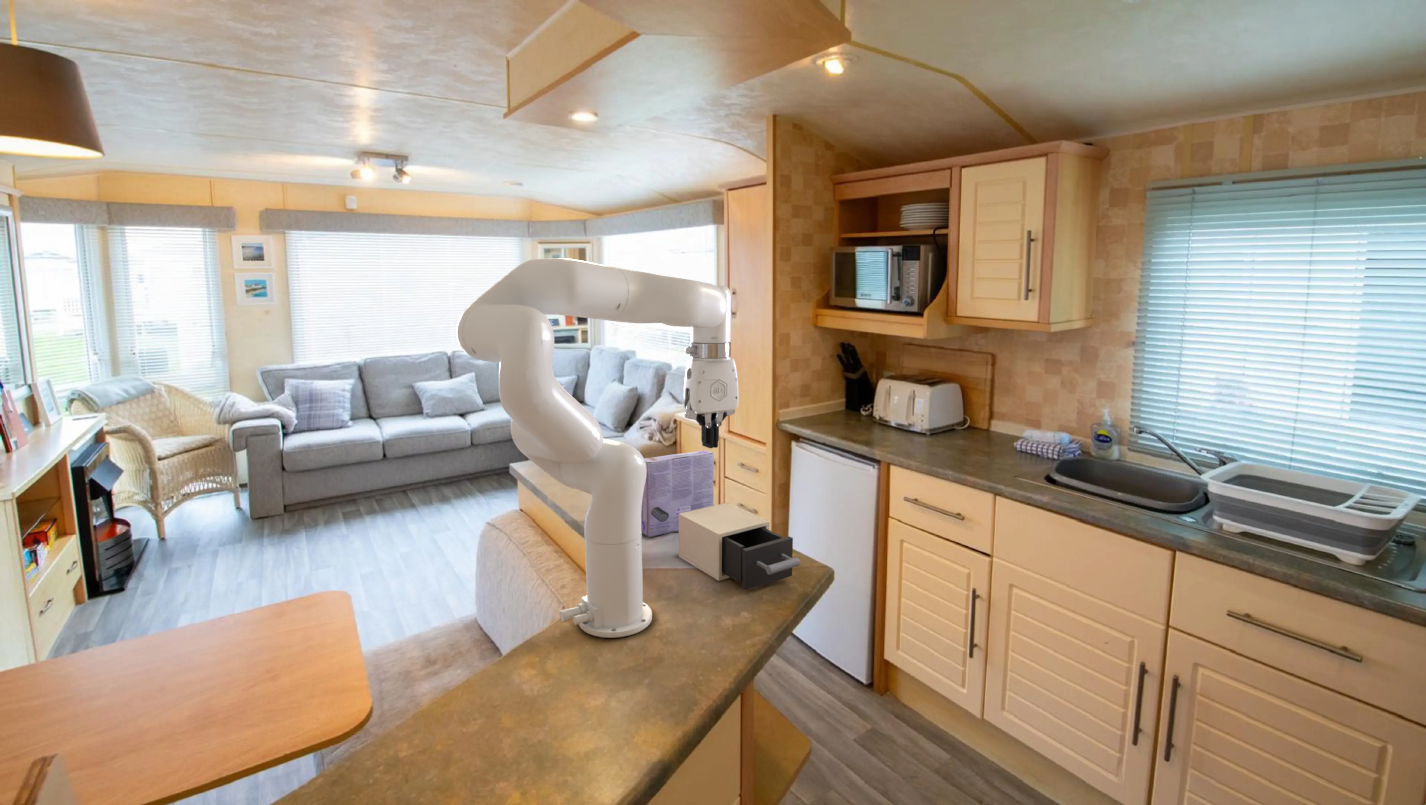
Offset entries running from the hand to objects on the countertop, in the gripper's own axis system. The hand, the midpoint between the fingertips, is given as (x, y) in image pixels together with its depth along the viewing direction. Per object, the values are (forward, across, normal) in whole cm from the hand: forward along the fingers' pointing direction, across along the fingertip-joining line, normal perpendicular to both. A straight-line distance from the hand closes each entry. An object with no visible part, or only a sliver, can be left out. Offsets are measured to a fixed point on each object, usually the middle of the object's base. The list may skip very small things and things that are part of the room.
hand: (710, 446), depth 134 cm
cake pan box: (+26, +8, +26) cm, 38 cm away
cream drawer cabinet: (+26, +6, +4) cm, 27 cm away
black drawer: (+25, +6, -7) cm, 27 cm away
